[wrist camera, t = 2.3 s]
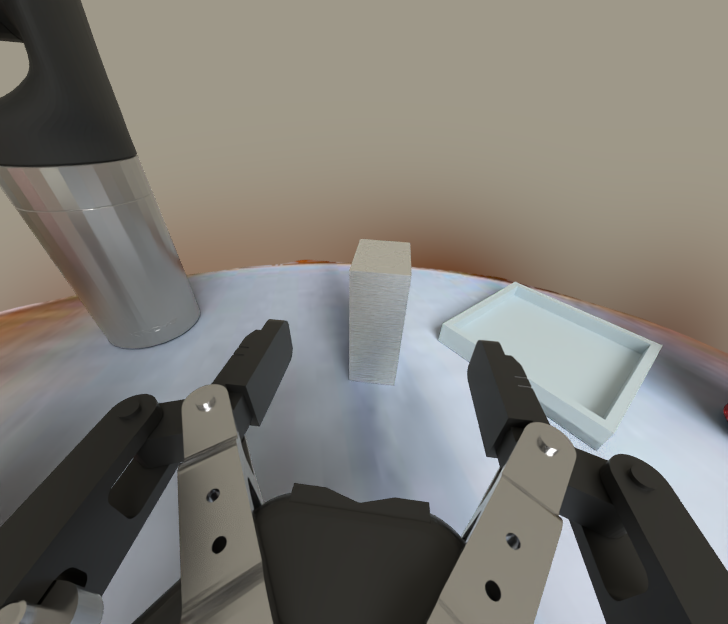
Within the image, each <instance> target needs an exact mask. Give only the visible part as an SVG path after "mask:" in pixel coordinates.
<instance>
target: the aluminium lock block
mask: <svg viewBox="0 0 728 624" xmlns="http://www.w3.org/2000/svg"><path fill="white" fill-rule="evenodd" d="M410 282H411V255H410V243H405V242H392V241H379V240H366V239H360V241H359V244H358V247H357V250H356V253H355V256H354V259H353V261H352V264H351V267H350V270H349V380H350V381H358V382H367V383H375V384H383V385H392V386H394V385H395V378H396V372H397V365H398V359H399V353H400V346H401V340H402V333H403V327H404V320H405V314H406V307H407V301H408V294H409V288H410Z"/></svg>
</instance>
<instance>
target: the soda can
mask: <svg viewBox="0 0 728 624" xmlns="http://www.w3.org/2000/svg"><path fill="white" fill-rule="evenodd" d="M724 415H725V418H726V419H727V421H728V404H727V405H726V406H725V407H724Z"/></svg>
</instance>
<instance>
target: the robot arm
mask: <svg viewBox="0 0 728 624" xmlns="http://www.w3.org/2000/svg"><path fill="white" fill-rule="evenodd" d="M0 41H10V42H21V43H24V45H25V48H26V51H27V54H28V58H29V72H28V74H27V76H26V78H25V79H24V80H23V81H22V82H21V83H20V85H19V86H17V87H16V88H15V89H14V90H13V91H11V92H10V93H8V94H6V95H5V96H3V97H1V98H0V187H1V189H2V190H3V192H4V193H5V194H6V196H7V197H8V199H9V200H10V201H11V203H12V204H13V206H15V208H16V210H17V211H18V212H19V214H20V215H21V216H22V218H23V220H24V221H25V222H26V224H27V225H28V227H29V228H30V229H31V231H32V232H33V234H34V235H35V237H36V238H37V239H38V241H39V242H40V244H41V245H42V246H43V248H44V249H45V251H46V252H47V254H48V255H49V256H50V258H51V259H52V261H53V262H54V263H55V265H56V266H57V268H58V269H59V270H60V272H61V273H62V275H63V276H64V278H65V279H66V280H67V282H68V283H69V285H70V286H71V287H72V289H73V290H74V292H75V293H76V295H77V296H78V298H79V299H80V300H81V302H82V303H83V305H84V306H85V307H86V309H87V310H88V312H89V313H90V315H91V316H92V318H93V319H94V320H95V322H96V323H97V325H98V326H99V327H100V329H101V330H102V332H103V333H104V334H105V336H106V337H107V339H108V340H109V341H110V343H111V344H113V345H114V346H117V347H120V348H127V349H137V348H145V347H151V346H155V345H158V344H161V343H164V342H167V341H169V340H172V339H174V338H176V337H178V336H180V335H182V334H183V333H184V332H186V331H187V330H189V329H190V328H191V327H192V326H193V325H194V324H195V323H196V322H197V320H198V319H199V316H200V309H199V307H198V304H197V302H196V299H195V297H194V294H193V292H192V289H191V287H190V284H189V281H188V279H187V276H186V274H185V272H184V269H183V266H182V264H181V261H180V259H179V256H178V254H177V252H176V249H175V246H174V244H173V242H172V239H171V236H170V234H169V232H168V229H167V227H166V224H165V222H164V219H163V217H162V214H161V212H160V209H159V207H158V204H157V202H156V199H155V197H154V194H153V192H152V190H151V187H150V185H149V182H148V180H147V177H146V175H145V172H144V170H143V167H142V165H141V162H140V160H139V157H138V155H136V154H137V153H136V150H135V147H134V145H133V143H132V140H131V137H130V135H129V132H128V130H127V127H126V124H125V122H124V119H123V116H122V113H121V110H120V108H119V105H118V103H117V100H116V98H115V95H114V92H113V90H112V87H111V84H110V82H109V79H108V77H107V74H106V71H105V69H104V66H103V63H102V60H101V58H100V55H99V52H98V49H97V46H96V44H95V41H94V38H93V35H92V32H91V29H90V26H89V23H88V21H87V17H86V15H85V12H84V9H83V6H82V3H81V0H0ZM292 351H293V347H292V341H291V335H290V330H289V324H288V322H287V321H284V320H273V319H269V320H268V321H267V322H266V323H265V325H264V326H263V328H262V329H261V330H255V331H253V332H252V333H250V334H249V335H248V336H246V337H245V338H244V340H243V341H242V343H241V344H240V345H239V348H237V349H236V351H235V352H234V355H232V356H231V358H230V359H229V361H228V362H227V363H226V365H225V366H224V367H223V369H222V370H221V372H220V373H219V374H218V376H217V377H216V378H215V380H214V381H213V383H212V384H211V385H206V386H203V387H200V388H198V389H196V390H195V391H193V392H192V393H191V394H190V395H189V396H188V397H187V398H186V399H183V400H177V401H171V402H165V403H158V402H157V400H156V399H155V397H153V396H152V395H149V394H140V395H135V396H132V397H129V398H127V399H125V400H123V401H121V402H120V403H118V404H117V405H115V406H114V407H113V408H112V409H111V410H110V411H109V412H108V413H107V414H106V415H105V416H104V417H103V418H102V419H101V420H100V422H99V423H98V424H97V425H96V426H95V427H94V428H93V429H92V430H91V431H90V432H89V433H88V434H87V435H86V436H85V438H84V439H83V440H82V441H81V442H80V443H79V444H78V445H77V446H76V447H75V448H74V449H73V450H72V451H71V453H70V454H69V455H68V456H67V457H66V458H65V459H64V460H63V461H62V462H61V463H60V464H59V465H58V466H57V468H56V469H55V470H54V471H53V472H52V473H51V474H50V475H49V476H48V477H47V478H46V479H45V480H44V481H43V482H42V484H41V485H40V486H39V487H38V488H37V489H36V490H35V491H34V492H33V493H32V494H31V495H30V496H29V497H28V499H27V500H26V501H25V502H24V503H23V504H22V505H21V506H20V507H19V508H18V509H17V510H16V511H15V512H14V514H13V515H12V516H11V517H10V518H9V519H8V520H7V521H6V522H5V523H4V524H3V525H2V526H1V527H0V624H100V623H101V620H102V616H103V610H104V604H103V600H102V595H103V593H104V591H105V590H106V588H107V586H108V585H109V583H110V581H111V580H112V578H113V576H114V574H115V573H116V571H117V569H118V568H119V566H120V564H121V563H122V561H123V559H124V557H125V556H126V554H127V552H128V551H129V549H130V547H131V546H132V544H133V542H134V540H135V539H136V537H137V535H138V534H139V532H140V530H141V529H142V527H143V525H144V524H145V522H146V520H147V518H148V517H149V515H150V513H151V512H152V510H153V508H154V507H155V505H156V503H157V501H158V500H159V498H160V496H161V495H162V493H163V491H164V490H165V488H166V486H167V484H168V483H169V481H170V479H171V478H172V476H173V474H174V473H175V471H176V469H177V467H178V504H179V534H180V563H181V578H180V579H179V580H178V581H177V582H176V583H175V584H174V585H173V586H172V587H171V588H170V589H169V590H167V591H166V592H165V593H164V594H163V595H162V596H161V597H160V598H159V599H158V600H157V601H156V602H155V603H153V604H152V605H151V606H150V607H149V608H148V609H147V610H146V611H145V612H144V613H143V614H142V615H140V616H139V617H138V618H137V619H136V620H135V621H134V622H133V623H132V624H534V620H535V617H536V614H537V610H538V607H539V604H540V600H541V597H542V594H543V590H544V587H545V584H546V580H547V577H548V574H549V570H550V567H551V564H552V560H553V557H554V554H555V550H556V547H557V544H558V540H559V537H560V534H561V530H562V525H563V520H562V518H560V517H559V515H561V516H563V517H565V518H568V519H569V521H570V524H571V527H572V529H573V532H574V535H575V538H576V540H577V543H578V546H579V549H580V552H581V554H582V557H583V560H584V563H585V565H586V568H587V571H588V574H589V577H590V579H591V582H592V585H593V588H594V590H595V593H596V596H597V599H598V601H599V604H600V607H601V610H602V613H603V615H604V618H605V621H606V624H728V571H727V570H726V568H725V567H724V565H723V564H722V562H721V561H720V559H719V558H718V556H717V555H716V553H715V552H714V550H713V549H712V547H711V546H710V544H709V543H708V541H707V540H706V538H705V537H704V535H703V534H702V532H701V531H700V529H699V528H698V526H697V525H696V523H695V522H694V520H693V519H692V517H691V516H690V514H689V513H688V511H687V510H686V508H685V507H684V505H683V504H682V502H681V501H680V499H679V498H678V496H677V495H676V493H675V492H674V490H673V489H672V488H671V486H670V485H669V483H668V482H667V481H666V479H665V478H664V477H663V476H662V475H661V474H660V473H659V472H658V471H657V470H655V469H654V468H653V467H652V466H650V465H649V464H647V463H646V462H644V461H642V460H640V459H638V458H636V457H633V456H630V455H626V454H617V455H614V456H613V457H612V458H610V459H609V460H605V459H602V458H600V457H597V456H595V455H592V454H590V453H587V452H585V451H582V450H580V449H577V448H575V447H574V446H573V444H572V443H571V441H570V440H569V439H568V438H567V437H566V436H565V435H564V434H563V433H562V432H561V431H559V430H558V429H556V428H555V427H553V426H551V425H550V424H549V422H548V420H547V417H546V415H545V413H544V411H543V409H542V407H541V405H540V403H539V401H538V399H537V396H536V394H535V392H534V390H533V388H531V384H530V382H529V380H528V379H527V376H526V373H525V371H524V369H523V367H522V365H521V364H520V363H519V362H518V361H517V360H516V359H515V358H514V357H513V356H511V355H505V353H504V351H503V349H502V346H501V344H500V343H499V342H498V341H487V340H478V341H477V343H476V346H475V349H474V351H473V354H472V357H471V360H470V363H469V366H468V371H467V378H468V383H469V387H470V391H471V395H472V400H473V404H474V408H475V412H476V416H477V420H478V424H479V428H480V432H481V436H482V441H483V445H484V449H485V453H486V457H492V458H498V461H499V465H500V467H499V469H498V470H497V472H496V474H495V476H494V478H493V480H492V482H491V483H490V485H489V487H488V489H487V491H486V493H485V495H484V496H483V498H482V500H481V502H480V504H479V506H478V508H477V509H476V511H475V513H474V515H473V516H472V518H471V520H470V521H469V523H468V525H467V527H466V528H465V530H464V532H463V534H462V535H461V536H460V535H459V534H458V533H457V532H456V531H455V530H454V529H453V528H452V527H451V526H449V525H448V524H447V523H445V522H444V521H443V520H441V519H440V518H438V517H436V516H435V515H433V514H431V513H430V508H429V502H422V501H415V500H408V499H401V498H389V499H383V500H376V501H370V502H363V503H359V502H356V501H354V500H352V499H349V498H347V497H345V496H343V495H341V494H339V493H337V492H335V491H333V490H330V489H328V488H326V487H319V486H312V485H305V484H298V483H294V486H293V489H292V493H288V494H284V495H281V496H278V497H276V498H273V499H271V500H269V501H267V502H266V503H264V501H263V498H262V494H261V491H260V488H259V485H258V482H257V478H256V475H255V471H254V467H253V463H252V458H251V454H250V450H249V446H248V442H247V438H246V435H245V433H246V431H247V429H248V427H249V425H252V426H260V425H261V423H262V421H263V418H264V416H265V414H266V412H267V410H268V408H269V406H270V403H271V401H272V399H273V397H274V395H275V393H276V391H277V388H278V386H279V384H280V382H281V380H282V378H283V376H284V374H285V371H286V369H287V367H288V365H289V363H290V361H291V357H292ZM132 459H133V460H132ZM131 460H132V461H131ZM130 461H131V462H130ZM180 462H183V463H180ZM129 463H130V464H129ZM128 464H129V465H128ZM127 465H128V467H127ZM126 467H127V468H126ZM125 468H126V469H125ZM124 469H125V471H124ZM123 471H124V472H123ZM122 472H123V473H122ZM121 474H122V475H121ZM120 475H121V476H120ZM119 476H120V477H119ZM118 478H119V479H118ZM117 479H118V480H117ZM116 480H117V482H116ZM115 482H116V483H115ZM114 483H115V484H114ZM113 484H114V486H113ZM112 486H113V487H112Z"/></svg>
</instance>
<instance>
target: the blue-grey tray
mask: <svg viewBox="0 0 728 624" xmlns="http://www.w3.org/2000/svg"><path fill="white" fill-rule="evenodd" d="M478 340H487V341H498V342H499V343H500V344H501V346H502V349H503V351H504V353H505V355H511V356H513V357H514V358H515V359H516V360H517V361H518V362H519V363H520V364H521V365H522V367H523V369H524V371H525V373H526V376H527V379H528V380H529V382H530V384H531V388H533V390H534V392H535V394H536V396H537V399H538V401H539V403H540V405H541V407H542V409H543V411H544V413H545V415H546V416H547V417H549V418H550V419H552V420H553V421H554V422H556V423H557V424H559V425H560V426H562V427H563V428H564V429H566V430H567V431H569V432H570V433H572V434H573V435H574V436H576V437H577V438H579V439H580V440H582V441H583V442H584V443H586V444H587V445H589V446H590V447H592V448H593V449H594V450H597V449H598V448H599V447H600V446H602V445H603V444H604V443H605V442H606V441H607V440H608V439H609V438H610V437H611V436H612V435H613V434H614V433H615V431H616V430H617V428H618V426H619V424H620V422H621V420H622V419H623V417H624V415H625V413H626V411H627V410H628V408H629V406H630V404H631V402H632V400H633V399H634V397H635V395H636V393H637V391H638V390H639V388H640V386H641V384H642V382H643V380H644V379H645V377H646V375H647V373H648V371H649V369H650V368H651V366H652V364H653V362H654V360H655V359H656V357H657V355H658V353H659V351H660V349H661V348H662V346H663V345H660V344H658V343H656V342H653V341H651V340H649V339H646V338H644V337H642V336H639V335H637V334H635V333H632V332H630V331H628V330H626V329H623V328H621V327H619V326H616V325H614V324H612V323H609V322H607V321H605V320H602V319H600V318H598V317H595V316H593V315H591V314H588V313H586V312H584V311H582V310H579V309H577V308H575V307H572V306H570V305H568V304H565V303H563V302H561V301H558V300H556V299H554V298H551V297H549V296H547V295H545V294H542V293H540V292H538V291H535V290H533V289H531V288H528V287H526V286H524V285H521V284H519V283H517V282H514V283H512V284H511V285H509V286H507V287H505V288H504V289H502V290H500V291H498V292H497V293H495V294H493V295H492V296H490V297H488V298H486V299H485V300H483V301H481V302H479V303H478V304H476V305H474V306H472V307H471V308H469V309H467V310H465V311H464V312H462V313H460V314H459V315H457V316H455V317H453V318H452V319H450V320H448V321H446V322H445V323H443V324H442V328H441V332H440V336H439V339H438V341H440V342H441V343H443V344H444V345H446V346H447V347H448V348H450V349H451V350H453V351H454V352H456V353H457V354H458V355H460V356H461V357H463V358H464V359H466V360H467V361H468V362H470V360H471V357H472V354H473V351H474V349H475V346H476V343H477V341H478Z"/></svg>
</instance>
